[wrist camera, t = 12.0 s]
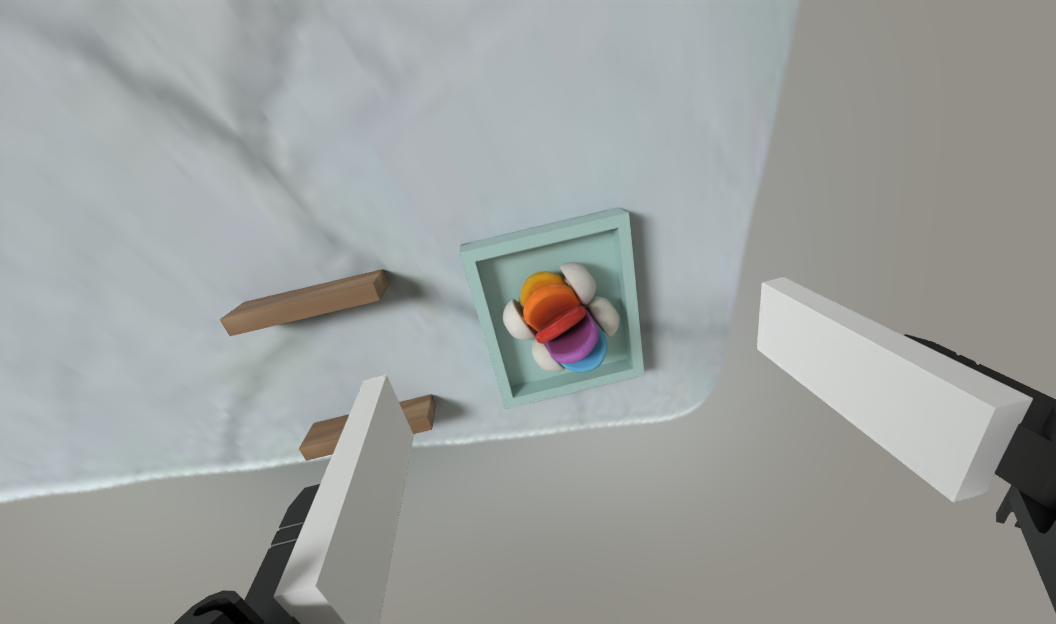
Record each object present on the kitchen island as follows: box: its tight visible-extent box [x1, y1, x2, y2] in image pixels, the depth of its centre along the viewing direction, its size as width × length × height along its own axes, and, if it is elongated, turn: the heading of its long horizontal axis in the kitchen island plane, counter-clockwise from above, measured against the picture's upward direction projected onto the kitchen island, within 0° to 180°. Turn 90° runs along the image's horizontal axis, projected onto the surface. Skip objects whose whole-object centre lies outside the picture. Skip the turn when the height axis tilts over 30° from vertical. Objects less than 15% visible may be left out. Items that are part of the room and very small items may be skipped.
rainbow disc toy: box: [503, 262, 620, 373], centre depth 33 cm, size 8×10×7 cm
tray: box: [460, 208, 644, 409], centre depth 36 cm, size 16×14×2 cm
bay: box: [220, 269, 436, 460], centre depth 35 cm, size 15×12×4 cm
